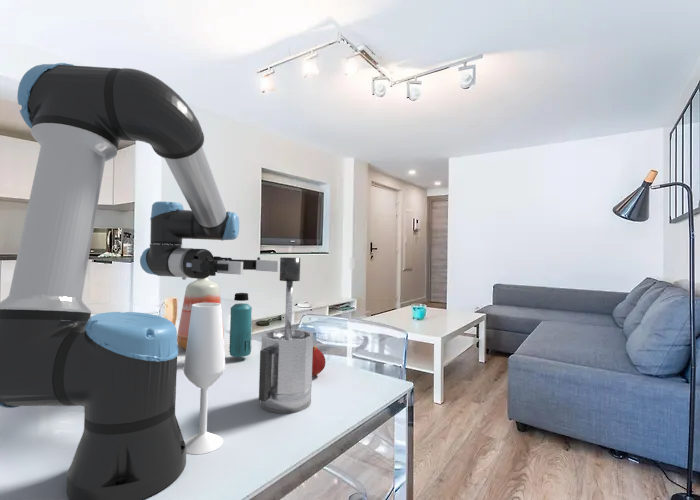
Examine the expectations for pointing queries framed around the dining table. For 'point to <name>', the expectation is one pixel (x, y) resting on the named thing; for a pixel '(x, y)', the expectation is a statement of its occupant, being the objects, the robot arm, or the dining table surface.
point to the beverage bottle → (240, 327)
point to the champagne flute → (204, 367)
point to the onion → (317, 361)
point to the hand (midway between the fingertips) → (261, 267)
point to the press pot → (286, 371)
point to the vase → (196, 294)
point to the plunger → (289, 289)
